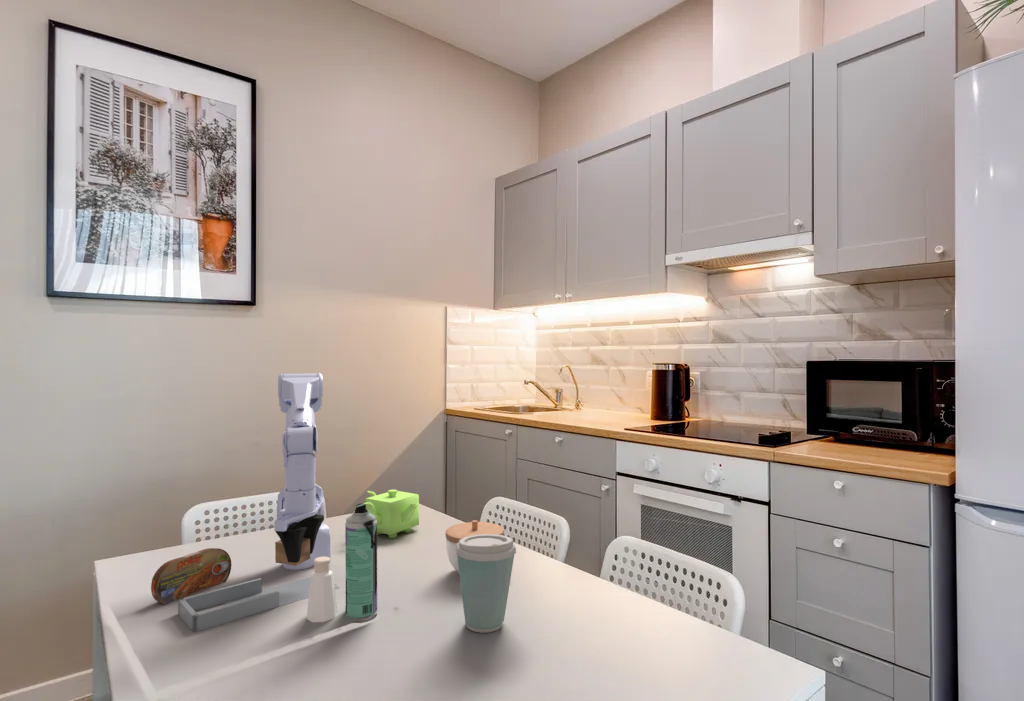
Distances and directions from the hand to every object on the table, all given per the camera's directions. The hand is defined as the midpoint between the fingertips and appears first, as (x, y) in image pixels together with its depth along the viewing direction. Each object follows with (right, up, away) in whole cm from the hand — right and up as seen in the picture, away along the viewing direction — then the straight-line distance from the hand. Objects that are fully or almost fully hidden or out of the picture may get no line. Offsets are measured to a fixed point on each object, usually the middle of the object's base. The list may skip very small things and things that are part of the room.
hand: (300, 557), depth 112 cm
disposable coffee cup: (+37, -7, -13) cm, 40 cm away
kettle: (+9, -8, +40) cm, 42 cm away
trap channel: (-6, -7, -6) cm, 11 cm away
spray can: (+15, -7, -10) cm, 19 cm away
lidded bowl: (+34, -7, +11) cm, 36 cm away
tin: (-21, -8, -1) cm, 22 cm away
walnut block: (-2, -1, +1) cm, 2 cm away
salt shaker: (+8, -7, -12) cm, 16 cm away
